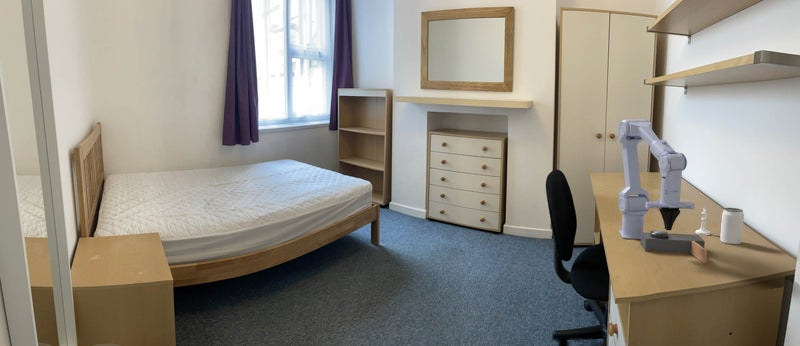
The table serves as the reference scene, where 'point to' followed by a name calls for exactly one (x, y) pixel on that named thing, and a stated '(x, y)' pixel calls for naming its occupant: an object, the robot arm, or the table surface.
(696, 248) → the side door
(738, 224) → the can
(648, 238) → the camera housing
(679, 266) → the table surface
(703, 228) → the chess piece
